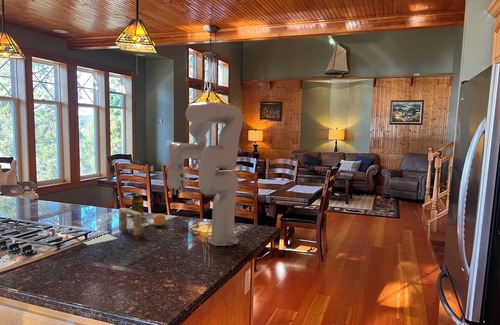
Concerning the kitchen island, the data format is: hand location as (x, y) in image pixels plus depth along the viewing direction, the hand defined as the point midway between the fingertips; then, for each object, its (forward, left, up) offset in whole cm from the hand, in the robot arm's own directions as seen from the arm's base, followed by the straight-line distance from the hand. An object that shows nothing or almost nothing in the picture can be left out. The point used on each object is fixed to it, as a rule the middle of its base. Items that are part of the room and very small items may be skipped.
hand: (174, 201), depth 184 cm
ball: (-1, +10, -8) cm, 12 cm away
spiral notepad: (-1, +42, -11) cm, 43 cm away
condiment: (+21, +10, -11) cm, 26 cm away
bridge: (-1, +26, -11) cm, 28 cm away
